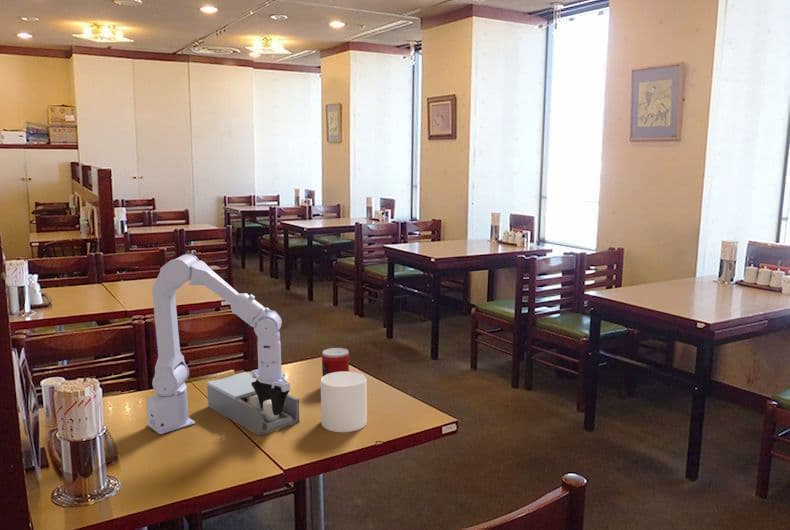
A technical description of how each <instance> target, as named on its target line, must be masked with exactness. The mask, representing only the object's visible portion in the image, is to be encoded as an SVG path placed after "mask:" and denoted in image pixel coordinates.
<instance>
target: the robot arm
mask: <svg viewBox="0 0 790 530" xmlns="http://www.w3.org/2000/svg"><path fill="white" fill-rule="evenodd" d="M188 281H189V283H188V285H190V286H205V288H207V289H208V290H210V291H211V292H213V293H214V294H216V296H219V297H220V298H221V299H222V300H224V301H225V302H227V303H228V304H230V311H231V312H232V313H234V315H236V316H237V317H239V318H240V319H241V320H242V321H243V322H245V323H246V324H247V325H249V326H250V327H251V328H253V332H254V333H255V335H256V336H257V363H258V365H257V366H258V368H257V369H253V370H251V375H252V378H256V381H255V382H252V383H251V385H252V386H253V388H254V390H255V392H256V394H257V396H258V399H259V403H260V406H261V408H262V409H263V402H264V401H266V400H270V399H271V402H272V410H273V414H274V415H278V414H281V413H282V410H283V406H284V402H285V399H286V397H287V394H289V393H290V391H291V383H290V382H289V381H288V380H286V378H285V377H286V373H285V372H283V371H282V347H281V346H282V344H281V343H282V342H281V334H280V333H281V332H280V329H281V327H282V324H283V321H282V317H281V315H279V313H278V312H277V311H275V310H271V309H270V308H269V307H265V306H264V305H262V304H261V303H260V302H258V301H257V300H256V296H255V295H253V294H252V293H250V295H249V294H248V293H247V292H243V293H239V292H238V291H237V290H236V289H234V287H232V286H231V285H230V284H229V283H227V281H225V280H224V279H223V278H222V277H221V276H219V274H217V273H216V272H215V271H214V270H212V269H211V268H210V267H209V265H207V263H206V262H205V261H203V260H200V259H199V258H198V257H197V256H196V255H194V254H191V253H185V254H182V255H180V256H179V257H177V258H174V259H171V260H169V261H167V262H166V263H165V264H164V265H162V267H160V269H159V273H158V275H157V277H156V279H155V281H154V283H153V285H152V287H151V288H152V289H151V292H152V303H153V314H154V322H155V323H154V324H155V335H156V345H157V354H158V355H157V359H156V363H155V366H154V376H153V378H152V382H151V384H152V387H153V389H154V391H155V392H156V393H154V394H153V395H150V396H148V397H147V399H146V411H147V413H146V414H147V423H146V426H147V427H149V428H150V429H152V430H153V431H154V432H156V433H157V434H159V435H163V434H165V433H169V432H172V431H175V430H179V429H181V428H185V427H188V426H192V425H196V421H195V420H193V419H192V418H190V417H189V405H188V404H189V403H188V389H187V387H188V386H187V385H186V382H187V380H188V379H189V376H190V369H189V367H188V365H187V364H186V361H185V356H184V355H183V353H181V347H180V346H181V345H180V335H179V324H178V323H179V322H178V312H177V302H176V298H177V297H176V293H177V292H178V290H179V289H180V288H181V287H182V286H183V285H184V284H185V283H187V282H188ZM272 385H273V386H274V388H272V389H271V387H272Z"/></svg>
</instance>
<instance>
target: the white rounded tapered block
mask: <svg viewBox="0 0 790 530" xmlns="http://www.w3.org/2000/svg"><path fill="white" fill-rule="evenodd" d="M246 399H247V403H248V404H250V405H252V406H254V407H256V408H258V409H260V410H262V411H263V409H262V408H261V406H260V403H259V399H258V396H257V394H253V395H250V396H247V398H246Z"/></svg>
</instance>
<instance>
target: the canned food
mask: <svg viewBox="0 0 790 530" xmlns="http://www.w3.org/2000/svg"><path fill="white" fill-rule="evenodd" d="M321 353H322V354H321V361H322V363H321V364H322V365H321V366H322V367H321V368H322V377H323V376H325V375H327V374H329V373H333V372H341V371H349V372H350V364H349V363H350V356H349V355H350V354H349V353H350V352H349V350H348V349H347V348H343V347H330V348H327V349H324V350H322V352H321Z"/></svg>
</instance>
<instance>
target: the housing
mask: <svg viewBox="0 0 790 530" xmlns="http://www.w3.org/2000/svg"><path fill="white" fill-rule="evenodd" d="M206 387H207V405H208V408H210V409H212V410H213V411H216V412H218V413H219V414H221V415H222V416H224V417H226V418H228V419H229V420H231V421H233V422H234V423H236V424H238V425H240V426H241V427H243V428H245V429H247V430H248V431H251V432H252V433H254V434H256V435H257V436H263V435H266V434H269V433H272V432H275V431H278V430H280V429H283V428H286V427H289V426H292V425H295V424H298V423H300V399H299V398H298V397H296V396H294V395H291V394H289V393H288V394H287V397H286V399H285V402H284V406H283V410H282V413H281V414H279V420H276V421H273V422H270V423H267V422H265V421H264V418H263V411H262V410H260V409H258V408H256V407H254V406H252V405H250V404H248V402H247V401H245V400H242V398H239V399H236V400H235V399H233V398H231V397H229V396H228V395H226V394H224V393H222V392H220V391H218V390H216V389H214V388H212V387H210V386H208V385H207V384H206ZM245 398H246V399H248V398H247V396H246V397H245ZM270 400H271V399H270Z"/></svg>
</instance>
